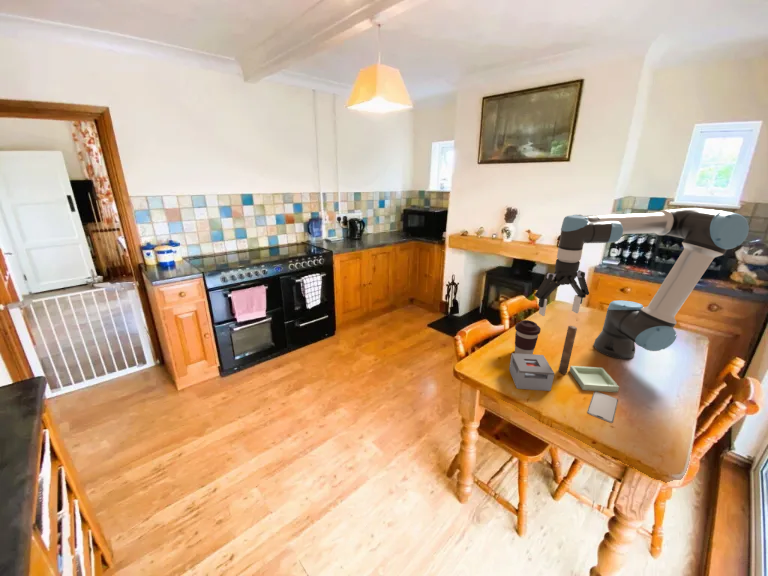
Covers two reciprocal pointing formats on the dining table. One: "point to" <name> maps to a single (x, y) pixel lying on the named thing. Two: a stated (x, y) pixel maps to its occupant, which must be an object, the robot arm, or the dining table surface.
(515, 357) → the grey slotted box
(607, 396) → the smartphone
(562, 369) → the brown wooden bar
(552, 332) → the dining table surface
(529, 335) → the coffee cup
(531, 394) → the dining table surface
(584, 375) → the tray
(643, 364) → the dining table surface
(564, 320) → the dining table surface
